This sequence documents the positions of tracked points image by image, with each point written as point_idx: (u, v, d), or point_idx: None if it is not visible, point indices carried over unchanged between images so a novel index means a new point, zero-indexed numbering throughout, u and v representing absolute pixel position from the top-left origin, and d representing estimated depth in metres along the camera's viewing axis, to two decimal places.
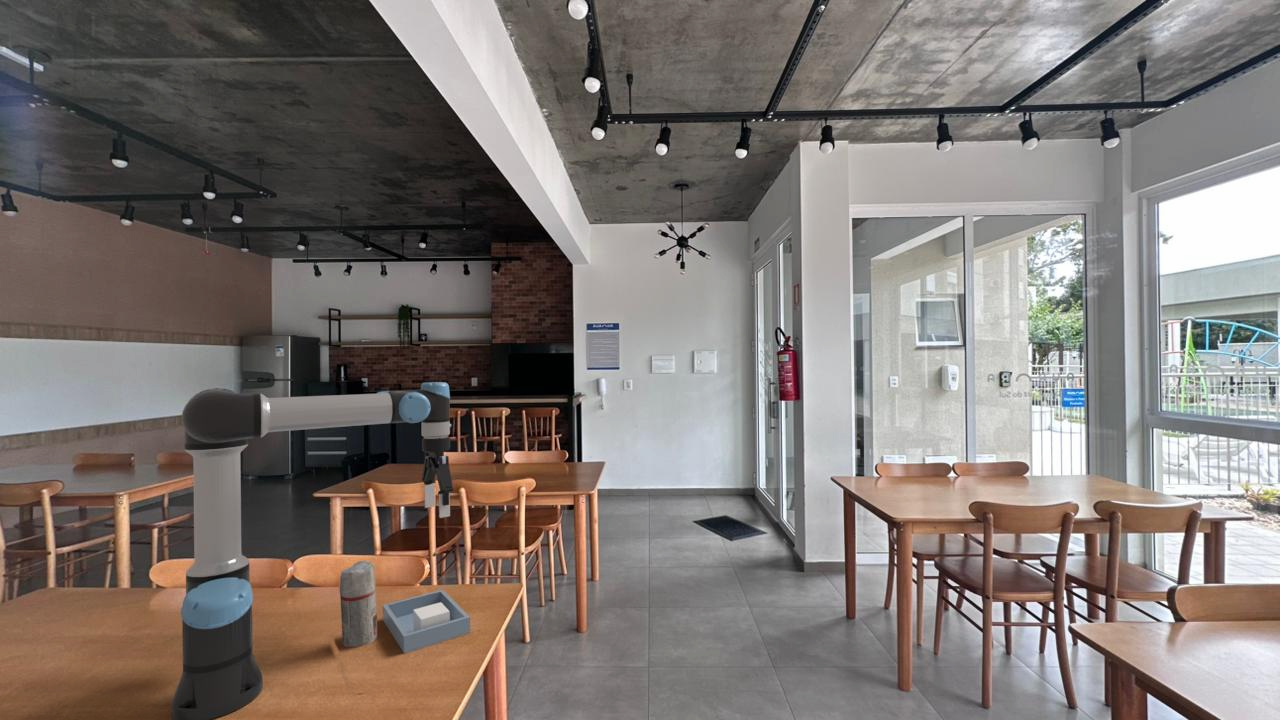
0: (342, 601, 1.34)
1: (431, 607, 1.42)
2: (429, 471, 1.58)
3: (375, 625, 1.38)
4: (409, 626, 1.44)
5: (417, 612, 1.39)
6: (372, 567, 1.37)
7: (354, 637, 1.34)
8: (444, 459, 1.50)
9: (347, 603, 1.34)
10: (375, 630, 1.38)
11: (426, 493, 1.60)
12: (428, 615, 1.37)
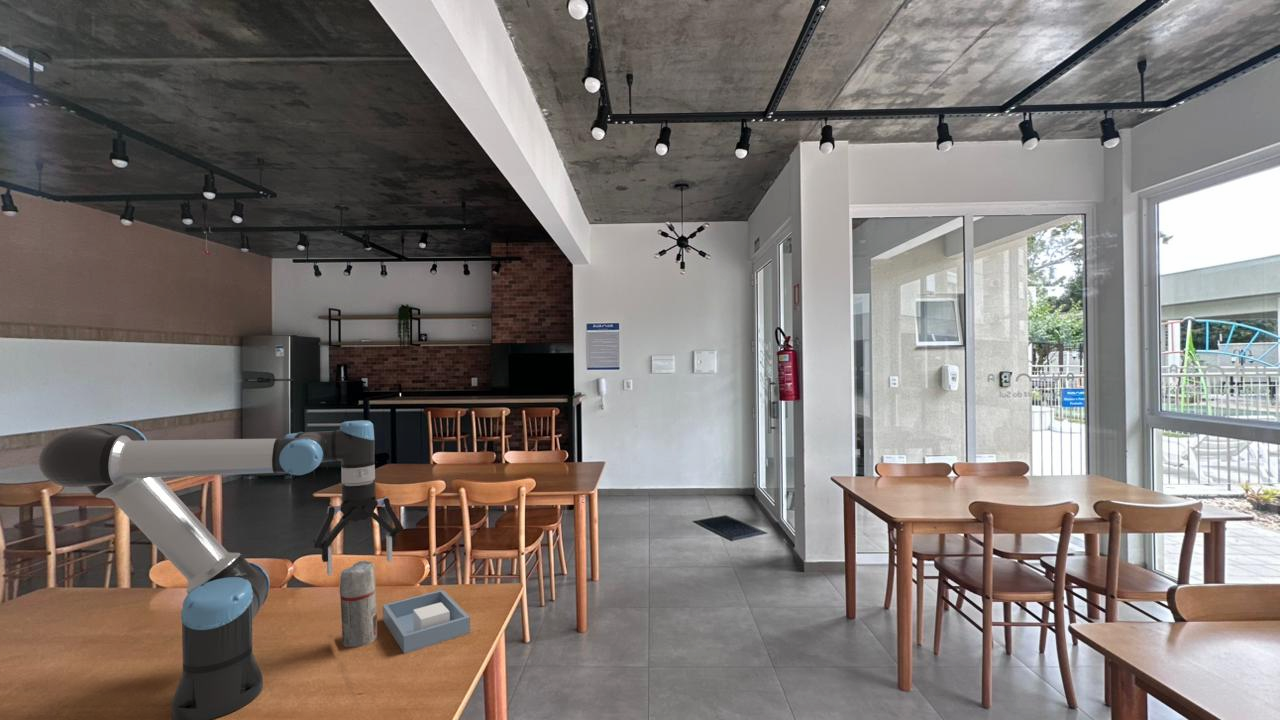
0: (342, 601, 1.34)
1: (431, 607, 1.42)
2: None
3: (375, 625, 1.38)
4: (409, 626, 1.44)
5: (417, 612, 1.39)
6: (372, 567, 1.37)
7: (354, 637, 1.34)
8: (328, 509, 1.34)
9: (347, 603, 1.34)
10: (375, 630, 1.38)
11: (386, 544, 1.43)
12: (428, 615, 1.37)
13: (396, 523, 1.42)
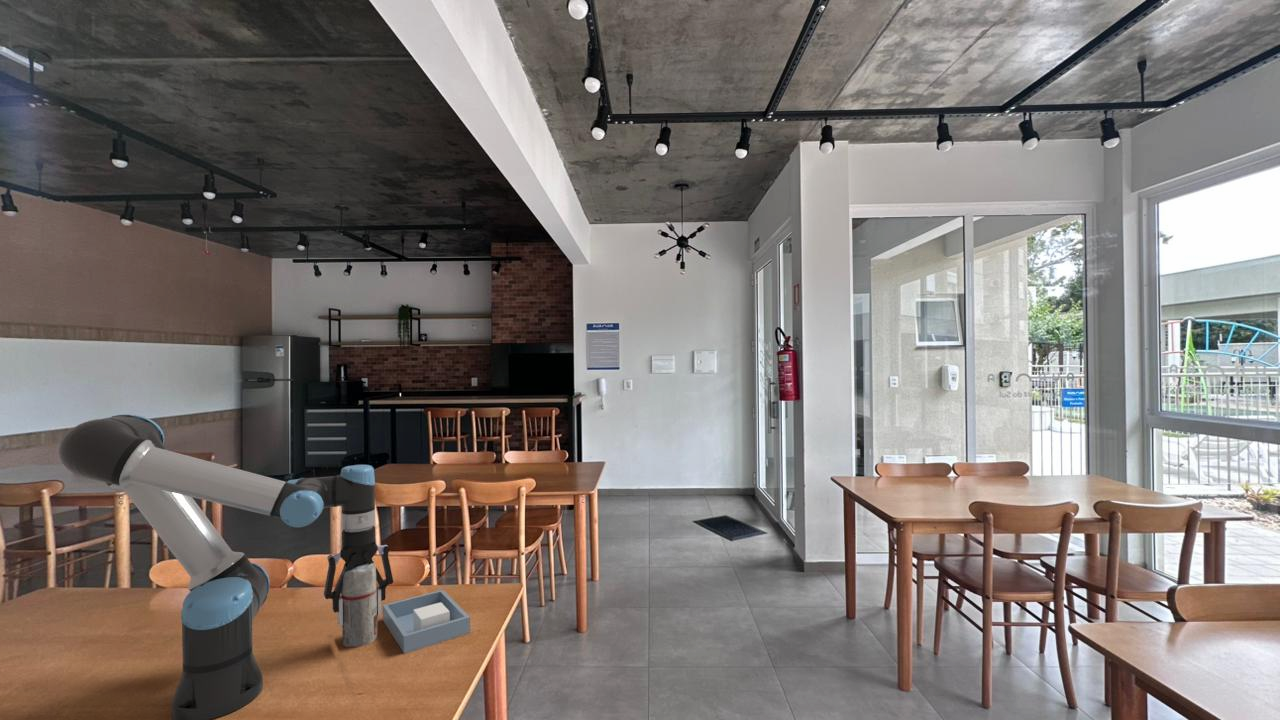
0: (343, 600, 1.34)
1: (431, 607, 1.42)
2: None
3: (375, 625, 1.38)
4: (409, 626, 1.44)
5: (417, 612, 1.39)
6: (374, 567, 1.37)
7: (354, 636, 1.34)
8: (328, 560, 1.34)
9: (348, 602, 1.34)
10: (375, 630, 1.38)
11: None
12: (428, 615, 1.37)
13: (388, 574, 1.41)
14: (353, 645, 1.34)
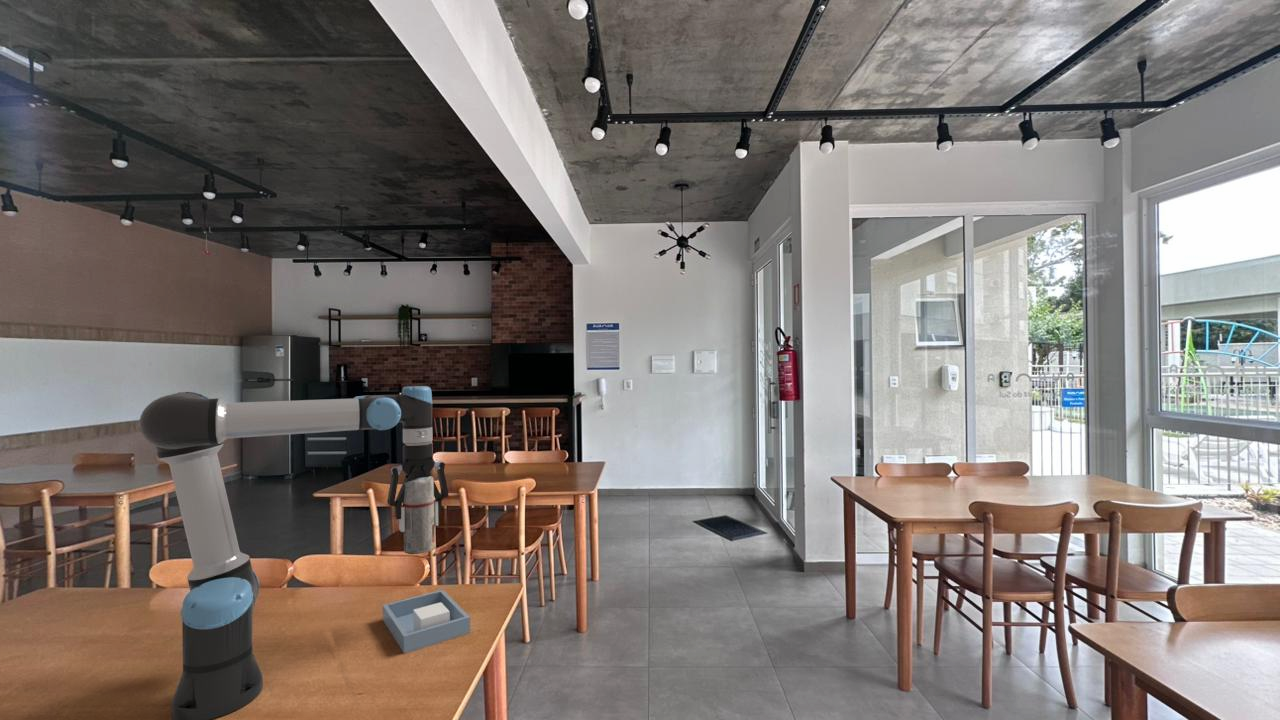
0: (405, 508, 1.45)
1: (431, 607, 1.42)
2: None
3: (433, 533, 1.49)
4: (409, 626, 1.44)
5: (417, 612, 1.39)
6: (432, 479, 1.48)
7: (415, 541, 1.45)
8: (391, 471, 1.45)
9: (410, 509, 1.45)
10: (433, 538, 1.49)
11: None
12: (428, 615, 1.37)
13: (444, 488, 1.52)
14: (414, 549, 1.45)
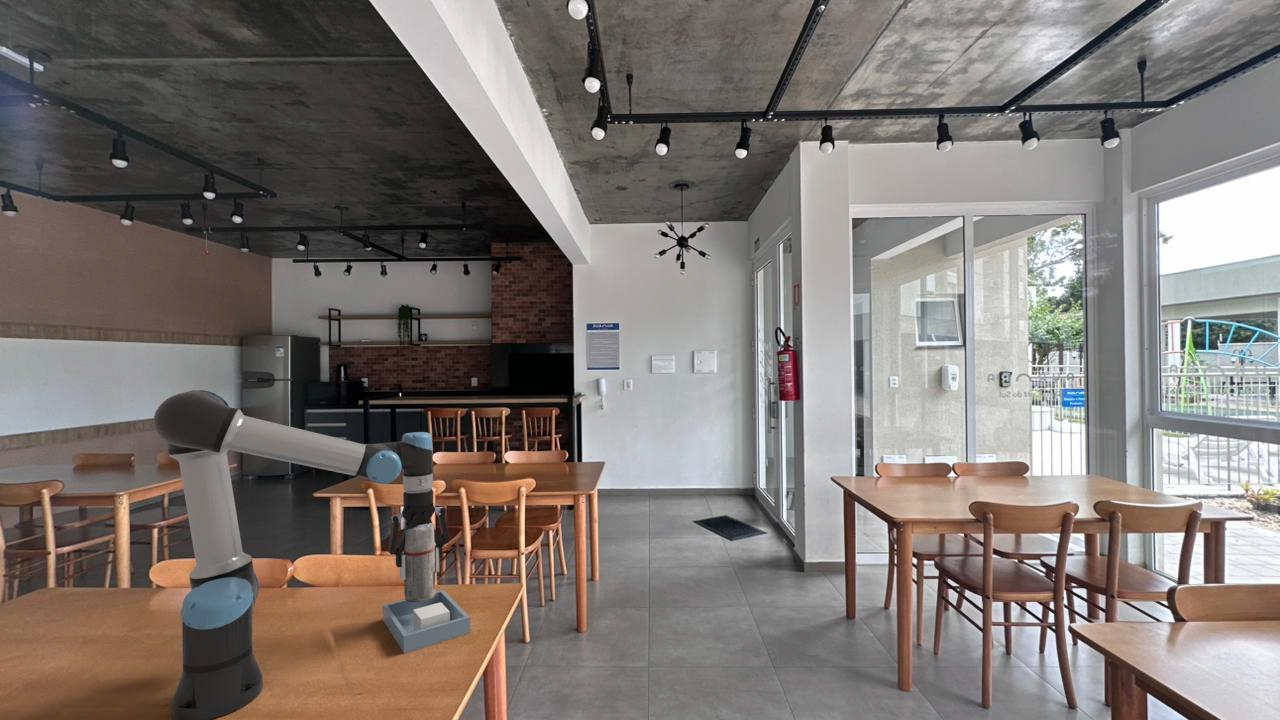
0: (406, 556, 1.45)
1: (431, 607, 1.42)
2: None
3: (434, 580, 1.49)
4: (409, 626, 1.44)
5: (417, 612, 1.39)
6: (433, 526, 1.48)
7: (416, 589, 1.45)
8: (392, 519, 1.44)
9: (411, 557, 1.44)
10: (434, 584, 1.49)
11: None
12: (428, 615, 1.37)
13: (444, 534, 1.51)
14: (415, 597, 1.45)
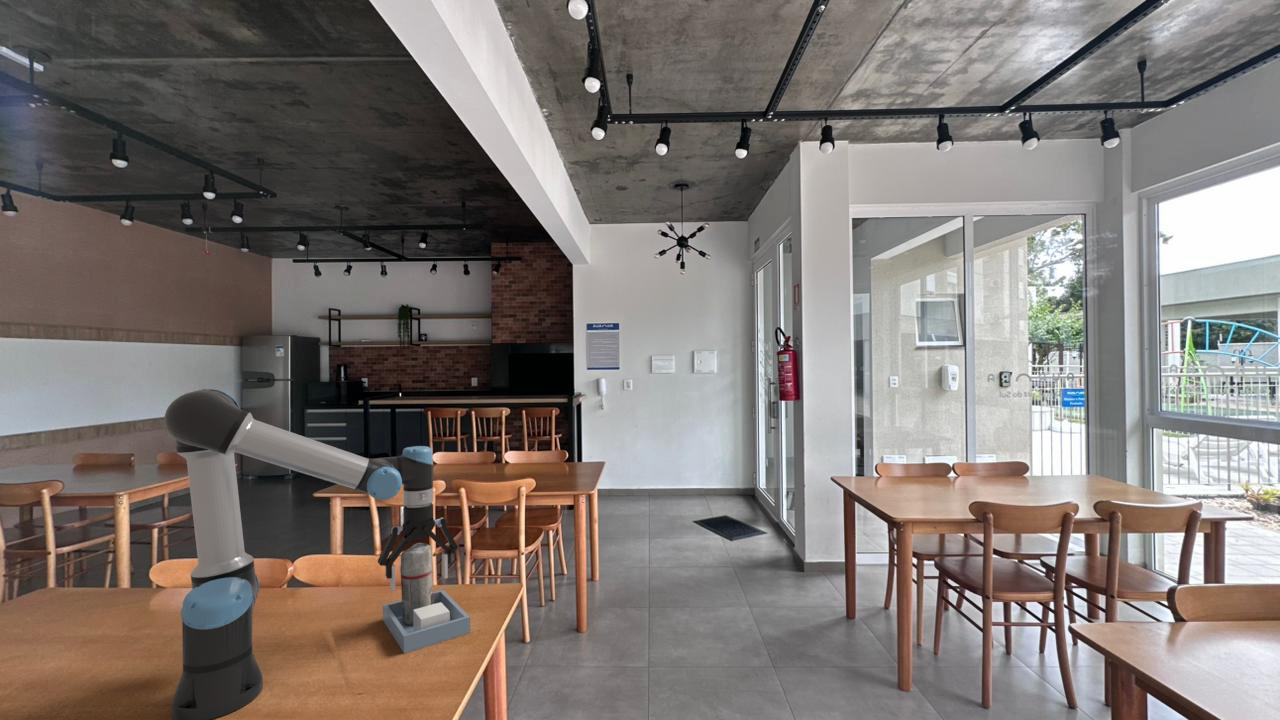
0: (403, 580, 1.45)
1: (431, 607, 1.42)
2: None
3: (432, 602, 1.48)
4: (409, 626, 1.44)
5: (417, 612, 1.39)
6: (430, 548, 1.47)
7: None
8: (391, 530, 1.44)
9: (408, 581, 1.44)
10: None
11: (442, 561, 1.53)
12: (428, 615, 1.37)
13: (451, 542, 1.53)
14: None
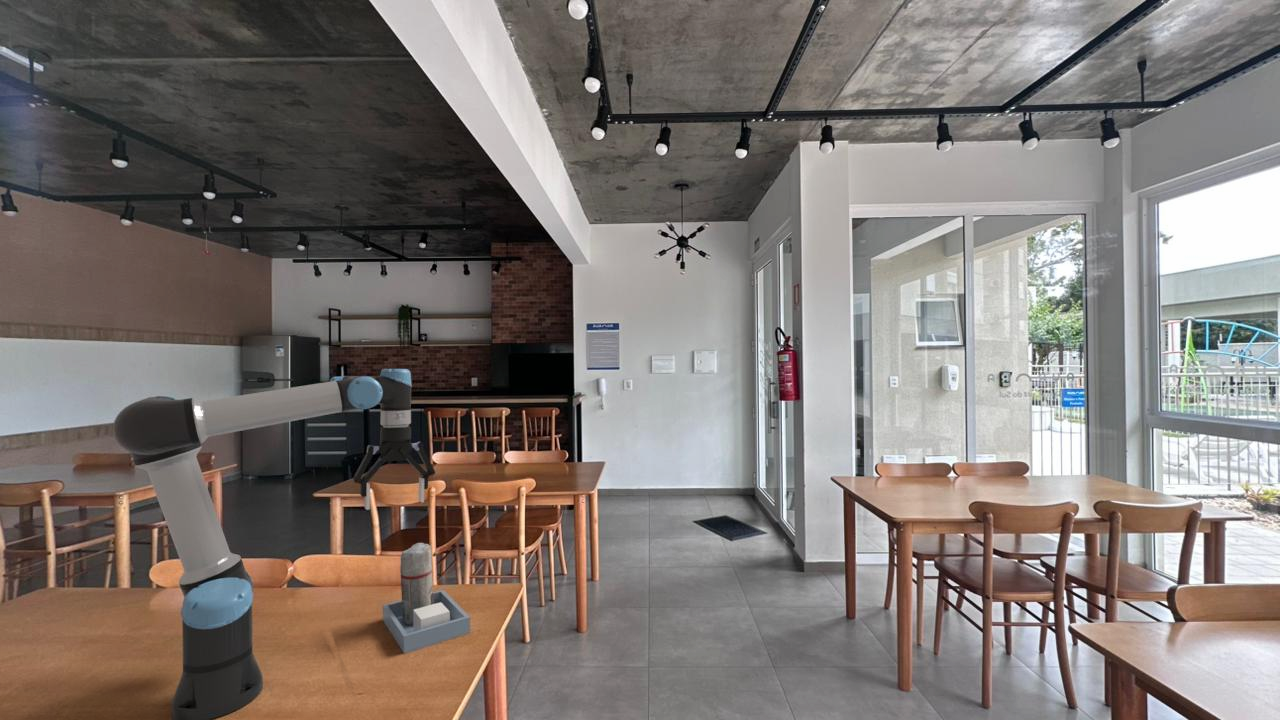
0: (403, 580, 1.45)
1: (431, 607, 1.42)
2: (408, 461, 1.51)
3: (432, 602, 1.48)
4: (409, 626, 1.44)
5: (417, 612, 1.39)
6: (430, 548, 1.47)
7: None
8: (367, 448, 1.44)
9: (408, 581, 1.44)
10: None
11: (419, 485, 1.53)
12: (428, 615, 1.37)
13: (428, 466, 1.52)
14: None
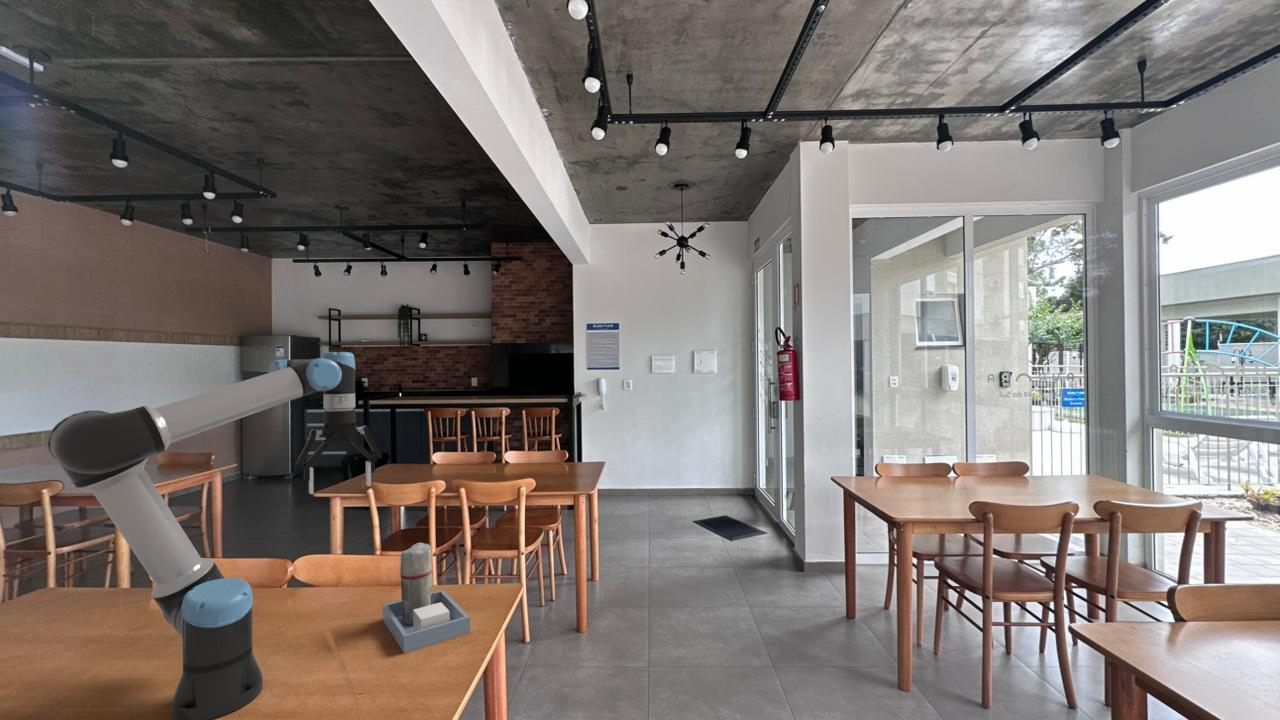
0: (403, 580, 1.45)
1: (431, 607, 1.42)
2: (354, 445, 1.50)
3: (432, 602, 1.48)
4: (409, 626, 1.44)
5: (417, 612, 1.39)
6: (430, 548, 1.47)
7: None
8: (310, 432, 1.43)
9: (408, 581, 1.44)
10: None
11: (366, 469, 1.52)
12: (428, 615, 1.37)
13: (375, 450, 1.51)
14: None
